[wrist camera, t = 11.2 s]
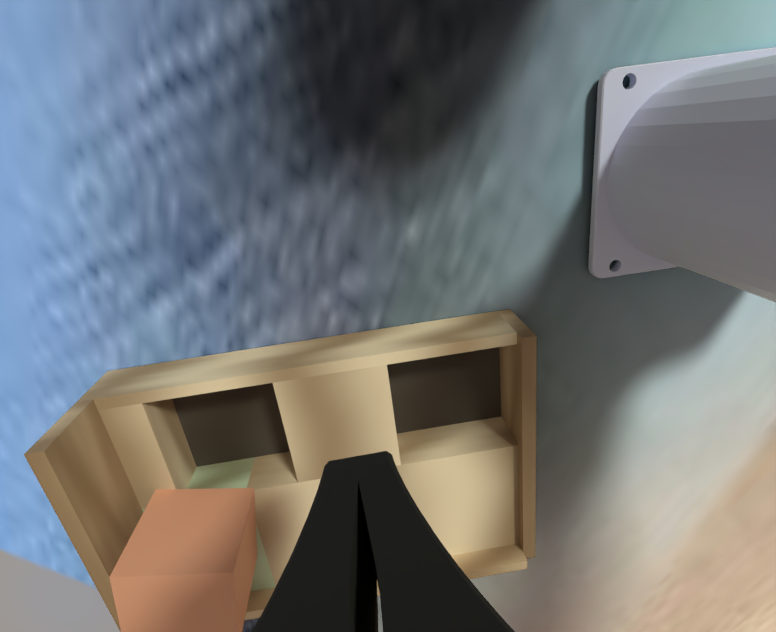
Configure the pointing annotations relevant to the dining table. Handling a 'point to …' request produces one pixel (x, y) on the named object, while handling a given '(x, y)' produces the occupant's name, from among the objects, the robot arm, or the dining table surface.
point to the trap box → (311, 439)
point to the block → (188, 562)
